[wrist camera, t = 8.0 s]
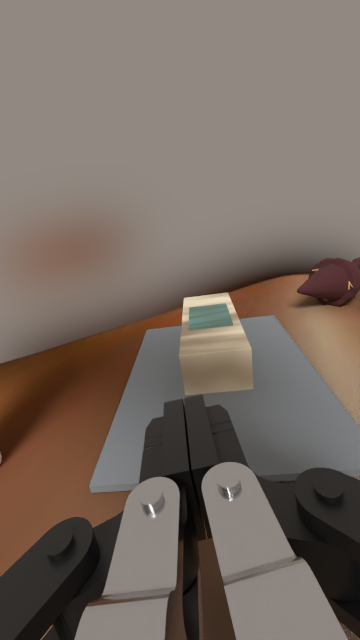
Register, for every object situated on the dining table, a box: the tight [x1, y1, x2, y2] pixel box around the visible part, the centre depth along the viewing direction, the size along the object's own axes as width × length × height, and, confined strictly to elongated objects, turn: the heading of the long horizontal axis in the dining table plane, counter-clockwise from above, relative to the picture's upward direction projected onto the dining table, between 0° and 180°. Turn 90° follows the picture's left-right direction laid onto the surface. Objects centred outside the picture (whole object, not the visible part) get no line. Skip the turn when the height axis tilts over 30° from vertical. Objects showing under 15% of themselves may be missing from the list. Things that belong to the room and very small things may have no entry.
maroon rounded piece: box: [297, 258, 360, 306], centre depth 39 cm, size 7×7×15 cm
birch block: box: [179, 293, 254, 395], centre depth 31 cm, size 4×6×16 cm
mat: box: [89, 315, 360, 493], centre depth 28 cm, size 24×18×1 cm
